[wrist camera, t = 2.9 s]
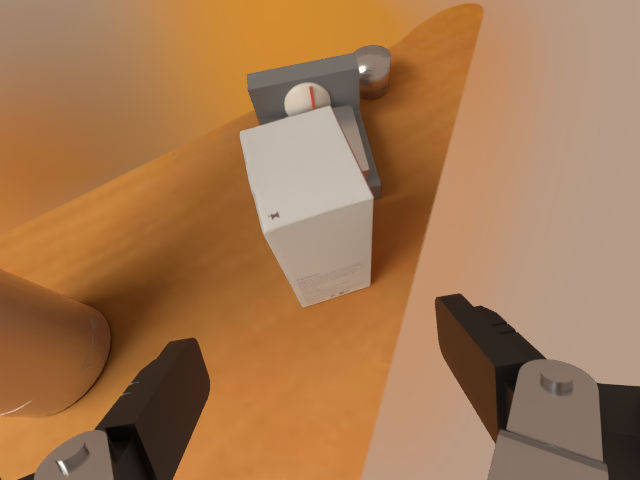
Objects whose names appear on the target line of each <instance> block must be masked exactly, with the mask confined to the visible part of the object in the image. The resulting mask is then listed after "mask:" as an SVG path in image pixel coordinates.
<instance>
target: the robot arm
mask: <svg viewBox="0 0 640 480" xmlns="http://www.w3.org/2000/svg"><path fill="white" fill-rule="evenodd" d="M435 308H436V319H437V330H438V340H439V345H440V349H441V352H442V355H443V357H444V359H445V361H446V362H447V364H448V366H449V368H450V369H451V371H452V373H453V374H454V376H455V378H456V379H457V381H458V383H459V384H460V386H461V388H462V389H463V391H464V393H465V394H466V396H467V398H468V399H469V401H470V402H471V404H472V406H473V407H474V409H475V410H476V412H477V414H478V416H479V417H480V419H481V421H482V422H483V424H484V426H485V427H486V429H487V431H488V432H489V434H490V435H491V437H492V439H493V441H494V442H495V444H496V445H495V450H494V454H493V458H492V462H491V466H490V470H489V474H488V479H487V480H640V386H624V385H611V384H600V383H596V382H595V381H594V380H593V378H592V377H591V376H589V374H587V373H586V372H584V371H583V370H581V369H579V368H577V367H575V366H573V365H571V364H567V363H565V362H561V361H556V360H547V359H546V358H545V357H544V356H543V355H542V354H541V353H540V352H539V351H538V350H536V349H535V348H534V347H533V346H532V345H531V344H530V343H529V342H528V341H527V340H526V339H524V338H523V337H522V336H521V335H520V334H519V333H518V332H516V331H515V329H514V328H513V327H511V326H510V325H509V324H507V322H506V321H505V320H504V319H503V318H502V317H501V316H499V315H498V314H497V313H496V312H494V311H492V310H489V309H487V308H485V307H483V306H476V307H473V306H472V305H471V304H470V303H469V302H468V301H467V300H466V299H465V298H464V296H462V295H461V294H453V295H448V296H441V297H436V300H435ZM110 341H111V335H110V328H109V325H108V323H107V320H106V318H105V317H104V316H103V315H102V314H101V312H99V311H98V310H96V309H95V308H93V307H90V306H88V305H85V304H83V303H81V302H78V301H76V300H73V299H71V298H68V297H66V296H64V295H61V294H59V293H57V292H55V291H52V290H50V289H47V288H45V287H42V286H40V285H38V284H35V283H33V282H30V281H28V280H25V279H23V278H21V277H18V276H16V275H13V274H11V273H8V272H6V271H4V270H1V269H0V417H42V416H48V415H52V414H54V413H57V412H60V411H62V410H64V409H65V408H67V407H69V406H70V405H72V404H73V403H75V402H76V401H77V400H78V399H79V398H81V397H82V396H83V395H84V394H85V393H86V392H87V391H88V390H89V388H90V387H91V386H92V385H93V384H94V382H95V381H96V379H97V378H98V376H99V375H100V373H101V371H102V369H103V367H104V365H105V363H106V360H107V357H108V353H109V350H110ZM209 392H210V379H209V375H208V372H207V369H206V366H205V363H204V360H203V356H202V353H201V350H200V347H199V344H198V342H197V340H196V339H195V338H188V339H182V340H176V341H171V342H169V343H168V344H167V346H166V347H165V348H164V350H163V351H162V352H161V354H160V355H159V356H158V358H157V359H155V360H153V361H152V362H151V363H150V364H148V365H147V366H146V367H145V368H143V369H142V370H141V371H140V372H139V373H138V375H137V376H136V377H135V379H134V380H133V381H132V382H131V385H129V386H128V387H127V389H126V390H125V391H124V393H123V396H120V398H119V399H118V400H117V401H116V403H115V404H114V405H113V407H112V408H111V409H110V410H109V412H108V413H107V414H106V415H105V417H104V418H103V419H102V421H101V422H100V423H99V424H98V426H97V427H96V428H95V429H94V430H92V431H88V432H84V433H82V434H79V435H77V436H75V437H73V438H71V439H69V440H68V441H66V442H64V443H63V444H61V445H60V446H59V447H57V448H56V449H55V450H54V451H52V452H51V453H50V454H49V455H48V456H47V457H46V458H45V459H44V460H43V461H42V463H41V464H40V465H39V467H38V468H37V470H36V472H35V473H33V474H31V475H28V476H26V477H23V478H21V479H18V480H173V477H174V475H175V473H176V470H177V468H178V466H179V463H180V461H181V459H182V456H183V454H184V452H185V449H186V447H187V445H188V443H189V440H190V438H191V436H192V433H193V431H194V429H195V426H196V424H197V422H198V419H199V417H200V415H201V413H202V410H203V408H204V406H205V403H206V401H207V399H208V396H209ZM0 480H1V478H0Z"/></svg>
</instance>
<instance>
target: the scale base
mask: <svg viewBox="0 0 640 480" xmlns="http://www.w3.org/2000/svg"><path fill="white" fill-rule="evenodd" d="M247 84H248V92H249V95H250V97H251V100H252V103H253V106H254V109H255V112H256V115H257V117H258V120H259V123H260V126H261V125H264V124H267V121H269V120H274V119H279V118H285V117H290V116H295V115H299V114H302V113H306V112H309V111H312V110H316V109H319V108H323V107H326V106H331V107H332V108H336V107H342V106H347V105H352V108H353V112H354V115H355V119H356V123H357V126H358V130H359V134H360V137H361V141H362V144H363V148H364V152H365V155H366V159H367V162H368V166H369V178H368V179H366V180H367V182H368V184H369V186H370V189H371V191H372V193H373V195H374V199H376V198H381V182H380V178H379V175H378V171H377V168H376V165H375V161H374V158H373V154H372V151H371V147H370V144H369V141H368V137H367V134H366V130H365V127H364V123H363V120H362V117H361V113H360V95H359V66H358V63H357V60H356V57H355V54H354V53H351V54H346V55H341V56H336V57H331V58H326V59H321V60H316V61H311V62H306V63H301V64H296V65H291V66H286V67H281V68H276V69H271V70H266V71H261V72H256V73H251V74H247Z"/></svg>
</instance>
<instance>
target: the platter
mask: <svg viewBox="0 0 640 480" xmlns="http://www.w3.org/2000/svg"><path fill="white" fill-rule="evenodd" d="M332 109H333V111H334V113H335V115H336V117H337V119H338V121H339V124H340V126H341V128H342V130H343V132H344V134H345V136H346V138H347V140H348V142H349V144H350V146H351V149H352V151H353V153H354V155H355V157H356V159H357V161H358V163H359V165H360V168H361V170H362V172H363V174H364V176H365V178H366V179H368V178H369V166H368V162H367V159H366V155H365V152H364V148H363V144H362V141H361V137H360V134H359V130H358V126H357V123H356V119H355V115H354V112H353V108H352V105H347V106H342V107H336V108H332ZM290 117H292V116H290ZM285 118H288V117H285ZM285 118H279V119H274V120H269V121H267V124H268V123H271V122H274V121H278V120H281V119H285Z"/></svg>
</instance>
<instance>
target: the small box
mask: <svg viewBox="0 0 640 480" xmlns="http://www.w3.org/2000/svg"><path fill="white" fill-rule="evenodd" d="M240 140H241V145H242V150H243V154H244V159H245V164H246V169H247V175H248V180H249V184H250V188H251V192H252V194H253V198H254V201H255V205H256V209H257V213H258V217H259V221H260V225H261V229H262V232H263V235H264V236H265V238H266V240H267V242H268V244H269V246H270V248H271V250H272V252H273V253H274V255H275V257H276V259H277V261H278V263H279V265H280V266H281V268H282V270H283V272H284V274H285V276H286V277H287V279H288V281H289V283H290V284H291V286H292V288H293V290H294V292H295V294H296V296H297V298H298V300H299V302H300V304H301V306H302V307H303V308H304V307H307V306H310V305H314V304H317V303H320V302H323V301H326V300H329V299H332V298H335V297H338V296H341V295H344V294H347V293H350V292H353V291H356V290H360V289H363V288H366V287H369V286H370V285H371V260H372V234H373V209H374V195H373V193H372V191H371V189H370V186H369V184H368V182H367V180H366V178H365V176H364V174H363V172H362V170H361V168H360V165H359V163H358V161H357V159H356V157H355V155H354V153H353V151H352V149H351V146H350V144H349V142H348V140H347V138H346V136H345V134H344V132H343V130H342V128H341V126H340V124H339V121H338V119H337V117H336V115H335V113H334V111H333V109H332V107H331V106H326V107H323V108H319V109H316V110H312V111H309V112H306V113H302V114H299V115H295V116H292V117H288V118H285V119H281V120H278V121H274V122H271V123H268V124H264V125H261V126H257V127H254V128H250V129H247V130H243V131H240Z"/></svg>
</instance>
